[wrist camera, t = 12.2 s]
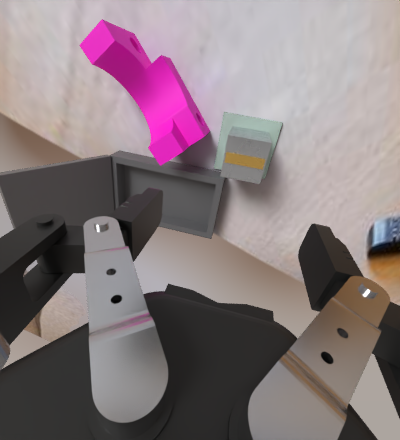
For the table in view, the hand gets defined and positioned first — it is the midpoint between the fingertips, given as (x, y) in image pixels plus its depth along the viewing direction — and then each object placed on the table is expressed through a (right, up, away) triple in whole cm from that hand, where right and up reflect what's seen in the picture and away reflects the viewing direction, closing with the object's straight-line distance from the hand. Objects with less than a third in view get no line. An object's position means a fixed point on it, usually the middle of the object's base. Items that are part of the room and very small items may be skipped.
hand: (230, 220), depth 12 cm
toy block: (-7, +18, +20) cm, 27 cm away
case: (-10, +6, +27) cm, 30 cm away
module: (+5, +11, +20) cm, 23 cm away
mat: (+5, +11, +21) cm, 24 cm away
